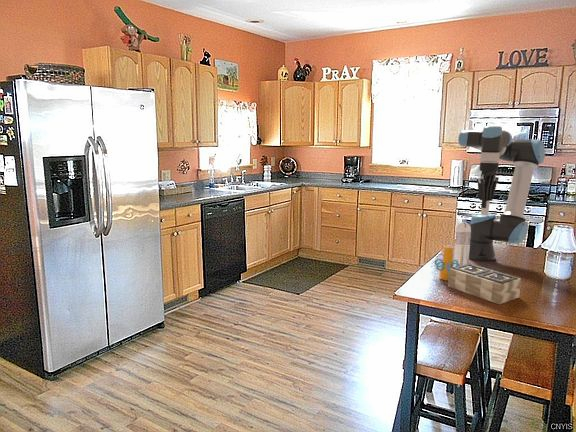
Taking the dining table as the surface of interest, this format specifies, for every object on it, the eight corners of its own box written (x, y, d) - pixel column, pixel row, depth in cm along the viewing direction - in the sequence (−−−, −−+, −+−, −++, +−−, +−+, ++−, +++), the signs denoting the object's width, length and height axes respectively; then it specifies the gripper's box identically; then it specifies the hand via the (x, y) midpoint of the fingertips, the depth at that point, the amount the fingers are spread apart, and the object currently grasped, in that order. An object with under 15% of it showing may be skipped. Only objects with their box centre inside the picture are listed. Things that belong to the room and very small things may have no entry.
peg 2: (494, 292, 189) (495, 273, 187) (503, 294, 185) (505, 276, 184) (488, 293, 187) (490, 275, 185) (497, 296, 183) (499, 278, 182)
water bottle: (463, 272, 216) (467, 221, 211) (450, 269, 221) (454, 219, 216) (470, 269, 220) (475, 219, 215) (457, 266, 225) (461, 217, 220)
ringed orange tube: (460, 283, 200) (463, 251, 197) (435, 282, 202) (438, 249, 199) (456, 275, 212) (458, 244, 209) (432, 273, 214) (435, 242, 211)
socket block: (467, 280, 205) (469, 262, 203) (519, 297, 185) (521, 277, 183) (447, 286, 197) (449, 267, 196) (499, 304, 178) (501, 283, 176)
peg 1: (468, 283, 199) (470, 266, 197) (476, 286, 195) (478, 268, 194) (463, 285, 196) (464, 267, 195) (471, 288, 193) (472, 270, 192)
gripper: (490, 160, 205) (485, 212, 210) (472, 162, 198) (468, 215, 203) (506, 162, 199) (500, 214, 204) (488, 163, 192) (483, 217, 197)
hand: (484, 214), depth 203 cm, fingers closed
